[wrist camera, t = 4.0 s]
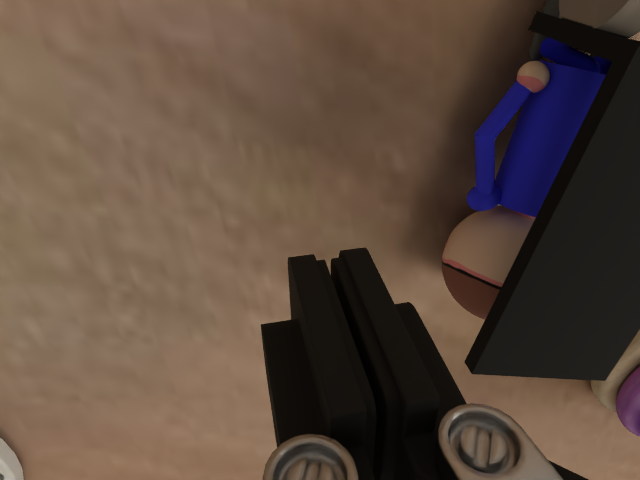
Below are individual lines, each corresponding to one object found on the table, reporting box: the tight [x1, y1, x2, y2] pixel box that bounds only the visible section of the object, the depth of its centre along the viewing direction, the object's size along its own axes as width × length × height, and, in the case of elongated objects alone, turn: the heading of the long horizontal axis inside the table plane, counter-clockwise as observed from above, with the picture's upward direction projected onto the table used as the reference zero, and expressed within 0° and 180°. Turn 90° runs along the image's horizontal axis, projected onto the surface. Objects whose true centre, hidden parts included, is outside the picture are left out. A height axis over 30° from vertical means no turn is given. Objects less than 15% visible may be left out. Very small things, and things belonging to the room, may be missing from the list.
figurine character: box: [442, 0, 640, 381], centre depth 18 cm, size 7×8×15 cm
